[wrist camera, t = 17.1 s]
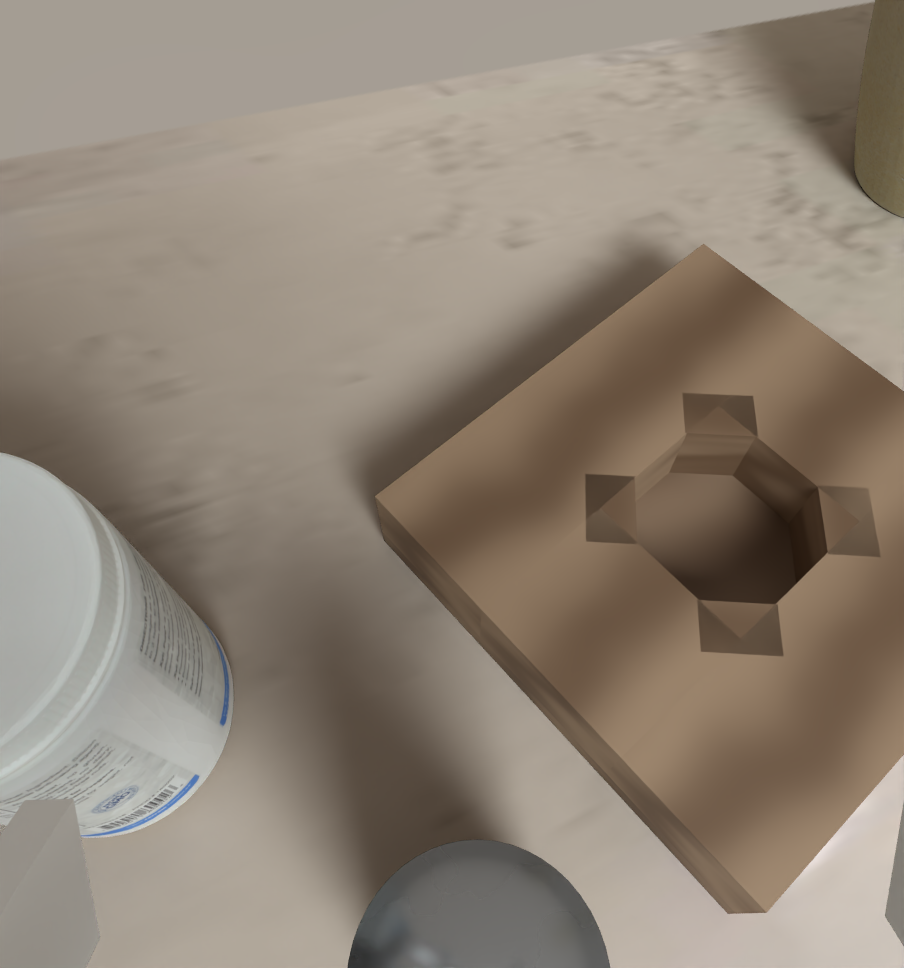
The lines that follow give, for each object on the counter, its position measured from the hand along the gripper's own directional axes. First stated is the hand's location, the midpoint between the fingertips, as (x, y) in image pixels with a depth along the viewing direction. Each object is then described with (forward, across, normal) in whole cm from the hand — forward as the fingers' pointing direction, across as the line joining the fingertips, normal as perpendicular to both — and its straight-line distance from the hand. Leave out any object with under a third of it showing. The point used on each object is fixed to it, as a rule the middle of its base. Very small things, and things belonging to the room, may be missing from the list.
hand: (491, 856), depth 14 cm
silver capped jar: (+13, 0, -16) cm, 21 cm away
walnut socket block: (+24, +10, -5) cm, 26 cm away
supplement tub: (+19, -14, -10) cm, 26 cm away
